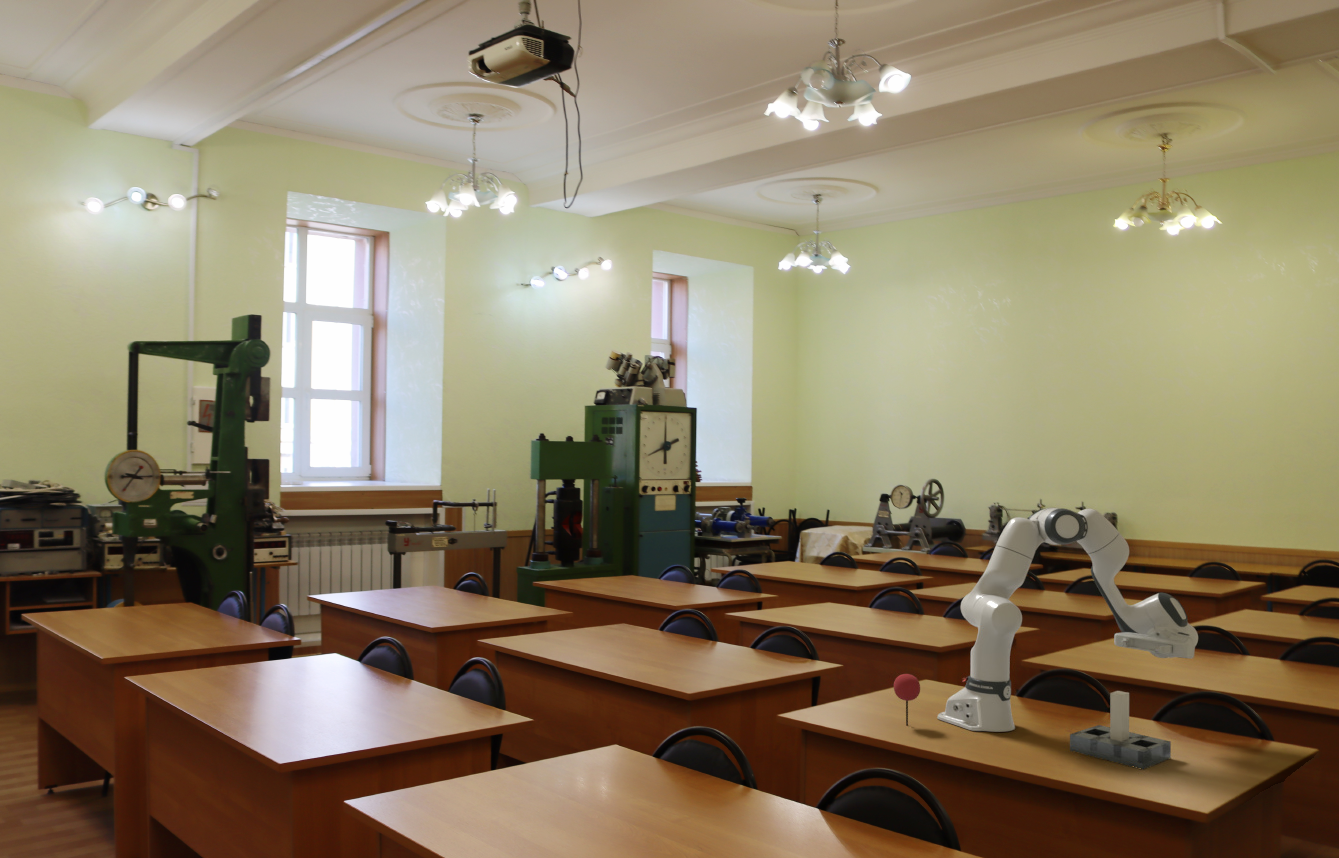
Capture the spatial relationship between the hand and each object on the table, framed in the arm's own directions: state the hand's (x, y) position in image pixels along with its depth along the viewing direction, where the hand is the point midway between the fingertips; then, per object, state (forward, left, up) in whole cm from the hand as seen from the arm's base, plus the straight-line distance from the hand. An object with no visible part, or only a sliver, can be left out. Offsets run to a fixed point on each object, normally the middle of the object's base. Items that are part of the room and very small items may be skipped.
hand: (1140, 646), depth 264 cm
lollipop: (-52, -36, -28) cm, 69 cm away
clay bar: (0, -12, -26) cm, 29 cm away
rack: (0, -12, -28) cm, 30 cm away
